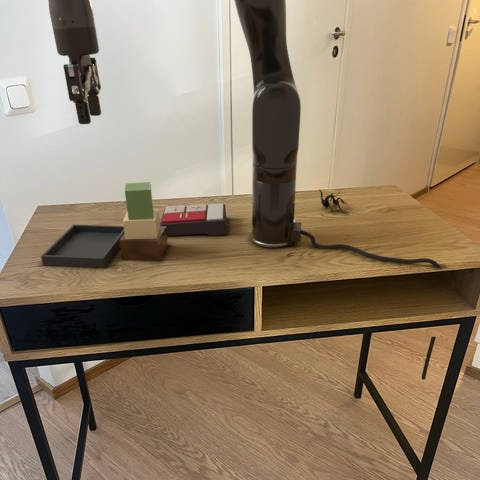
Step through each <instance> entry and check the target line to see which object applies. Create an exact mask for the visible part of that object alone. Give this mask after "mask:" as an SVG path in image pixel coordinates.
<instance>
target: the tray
mask: <svg viewBox="0 0 480 480" xmlns="http://www.w3.org/2000/svg"><path fill="white" fill-rule="evenodd" d="M124 233H125V232H124V225H99V224H98V225H97V224H72V225H71V226H69V228H68V229H67V230H66V231H65V232H64V233H62V235H60V237H59V238H58V239H57V240H55V241H54V243H53V244H52V245H51V246H49V248H48V249H46V251H44V252H43V253H42V254H41V255H40V258H41V262H42V266H50V267H51V266H54V267H74V268H75V267H76V268H99V269H100V268H101V269H104V268H106V267H107V265H108V264H109V263H110V261H111V260H112V259H113V258H114V256H115V255H116V253H117V252H118V251H119V249H121V247H120V241H119V240H120V238H121V237H122V236H123V235H124Z"/></svg>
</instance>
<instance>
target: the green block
mask: <svg viewBox="0 0 480 480" xmlns="http://www.w3.org/2000/svg"><path fill="white" fill-rule="evenodd" d="M124 196H125V203H126V210H127V211H126V213H127V212H128V219H129V220H136V219H152V218H153V209H154V202H153V193H152V185H151V181H145V182H144V181H143V182H127V183H125V186H124Z"/></svg>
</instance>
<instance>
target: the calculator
mask: <svg viewBox="0 0 480 480" xmlns="http://www.w3.org/2000/svg"><path fill="white" fill-rule="evenodd" d="M161 215H162V216H161V218H160V226H166V229H167V237H174V236H190V235H204V234H206V235H208V236H224V235H227V209H226V203H222V202H221V203H220V202H219V203H209V204H207V203H198V204H197V203H196V204H194V203H193V204H187V205H185V204H182V205H167V206H165V207H164V209H163V213H162V214H161Z"/></svg>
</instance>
